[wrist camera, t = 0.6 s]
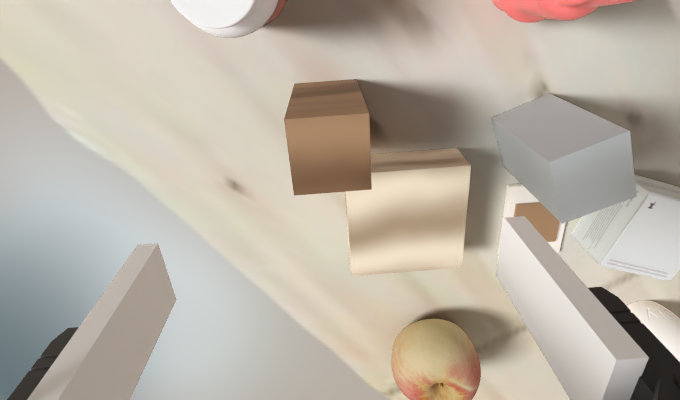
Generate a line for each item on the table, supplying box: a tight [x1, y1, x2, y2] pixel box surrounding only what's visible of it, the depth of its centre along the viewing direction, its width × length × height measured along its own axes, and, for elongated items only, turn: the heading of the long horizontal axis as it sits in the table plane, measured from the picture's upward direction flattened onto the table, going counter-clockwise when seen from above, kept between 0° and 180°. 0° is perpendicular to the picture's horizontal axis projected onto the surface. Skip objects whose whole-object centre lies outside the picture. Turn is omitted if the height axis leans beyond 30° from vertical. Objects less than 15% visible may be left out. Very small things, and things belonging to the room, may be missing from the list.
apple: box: [391, 319, 481, 400], centre depth 42 cm, size 9×9×8 cm
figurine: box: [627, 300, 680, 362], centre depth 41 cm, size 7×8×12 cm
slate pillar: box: [491, 93, 637, 224], centre depth 31 cm, size 5×5×10 cm
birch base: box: [345, 148, 471, 276], centre depth 36 cm, size 10×10×4 cm
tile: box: [497, 184, 566, 257], centre depth 39 cm, size 8×6×1 cm
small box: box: [571, 174, 680, 281], centre depth 37 cm, size 8×8×5 cm
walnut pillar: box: [284, 79, 372, 195], centre depth 29 cm, size 5×5×10 cm
